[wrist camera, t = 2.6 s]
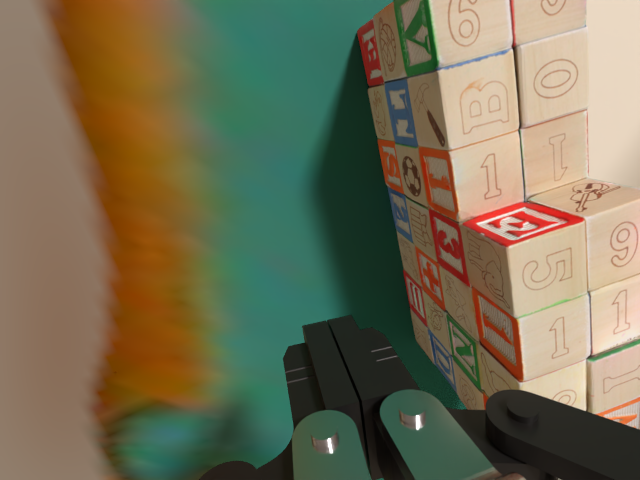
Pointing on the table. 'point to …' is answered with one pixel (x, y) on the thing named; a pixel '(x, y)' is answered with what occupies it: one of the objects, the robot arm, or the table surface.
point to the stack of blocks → (506, 201)
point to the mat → (614, 91)
